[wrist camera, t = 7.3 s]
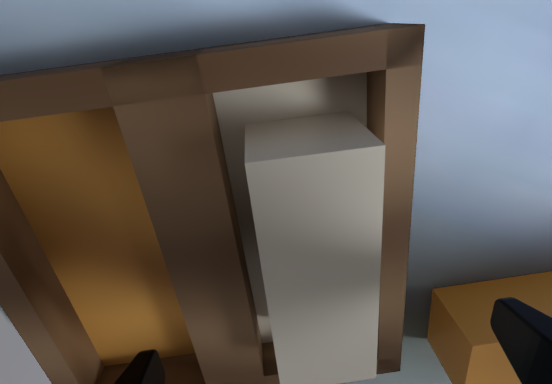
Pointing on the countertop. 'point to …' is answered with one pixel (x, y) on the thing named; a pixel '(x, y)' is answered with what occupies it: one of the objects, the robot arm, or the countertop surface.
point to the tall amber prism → (480, 326)
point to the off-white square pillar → (319, 242)
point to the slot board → (182, 199)
